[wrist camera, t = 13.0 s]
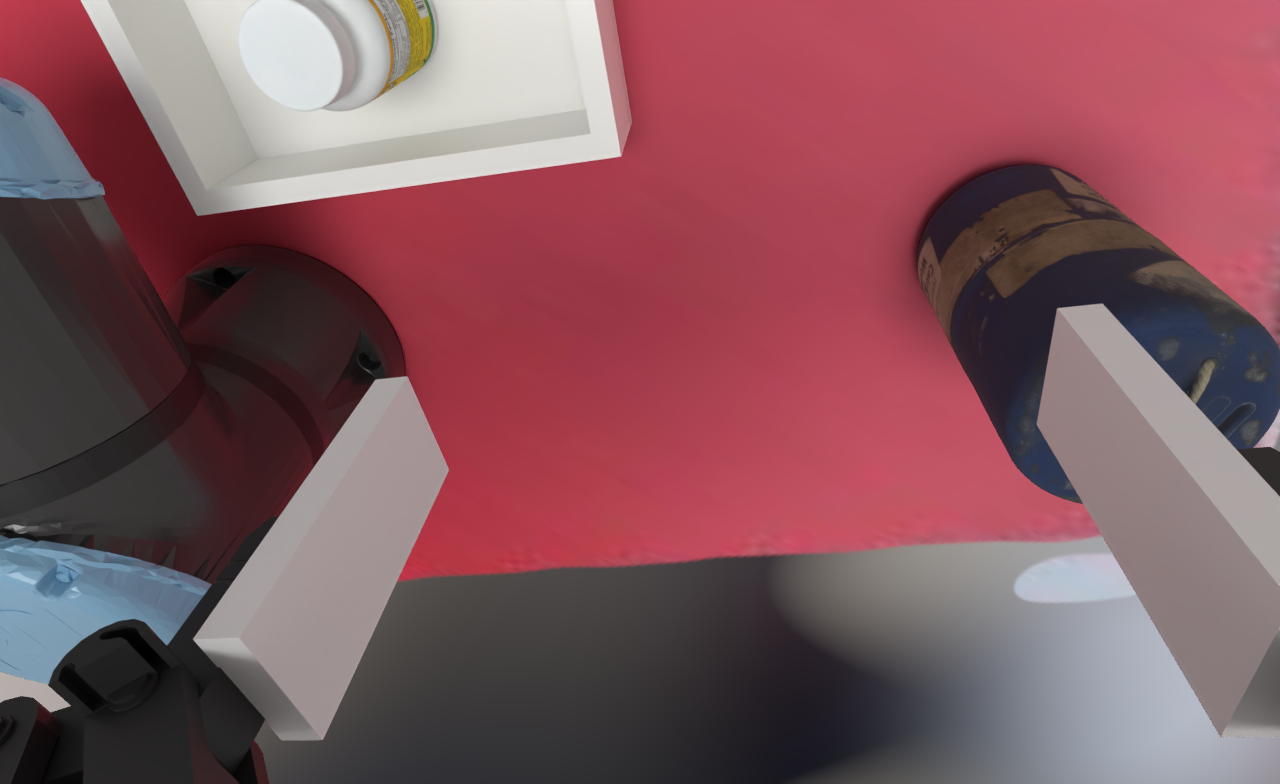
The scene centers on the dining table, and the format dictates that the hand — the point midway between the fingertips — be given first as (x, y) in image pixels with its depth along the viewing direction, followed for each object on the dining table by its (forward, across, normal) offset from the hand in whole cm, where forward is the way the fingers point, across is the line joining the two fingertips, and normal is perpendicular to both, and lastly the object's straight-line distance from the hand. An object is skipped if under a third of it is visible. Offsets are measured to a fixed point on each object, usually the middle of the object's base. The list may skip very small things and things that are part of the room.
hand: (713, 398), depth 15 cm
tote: (+26, +16, -7) cm, 31 cm away
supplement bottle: (+25, +16, -6) cm, 30 cm away
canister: (+27, -15, +10) cm, 32 cm away
